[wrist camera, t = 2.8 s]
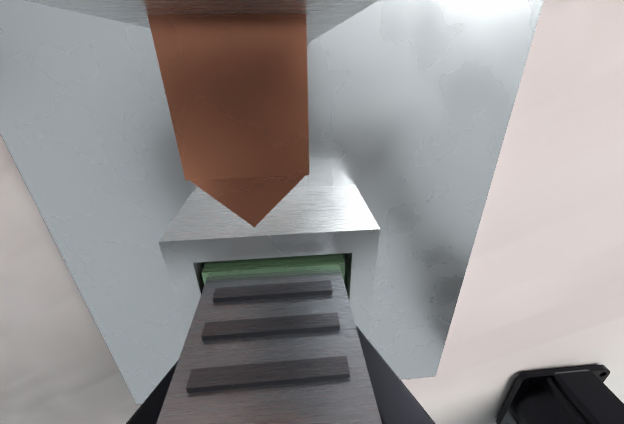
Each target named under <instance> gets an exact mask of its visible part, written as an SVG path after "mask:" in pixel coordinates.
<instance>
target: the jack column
mask: <svg viewBox="0 0 624 424" xmlns="http://www.w3.org/2000/svg"><path fill="white" fill-rule="evenodd" d="M344 276H345V262H344V258H343V255H342V253H340V254H324V255H308V256H292V257H276V258H260V259H245V260H229V261H213V262H205V265H204V268H203V270H202V277H203V281H204V288H203V291H202V294H201V297H200V300H199V303H198V305H197V308H196V311H195V314H194V317H193V320H192V323H191V326H190V328H189V331H188V334H187V337H186V340H185V343H184V346H183V349H182V351H181V354H180V357H179V360H178V363H177V366H176V369H175V372H174V374H173V377H172V380H171V383H170V386H169V389H168V392H167V395H166V397H165V400H164V403H163V406H162V409H161V412H160V415H159V417H158V420H157V423H156V424H382V422H381V418H380V414H379V411H378V407H377V403H376V400H375V396H374V392H373V388H372V385H371V381H370V377H369V374H368V370H367V366H366V362H365V359H364V355H363V351H362V347H361V344H360V340H359V336H358V333H357V329H356V325H355V321H354V318H353V314H352V310H351V307H350V303H349V299H348V295H347V292H346V288H345V284H344Z"/></svg>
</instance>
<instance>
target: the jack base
mask: <svg viewBox="0 0 624 424" xmlns="http://www.w3.org/2000/svg"><path fill="white" fill-rule="evenodd" d="M543 1H544V0H0V134H1V136H2V138H3V140H4V142H5V144H6V146H7V148H8V150H9V152H10V154H11V156H12V158H13V160H14V162H15V164H16V166H17V168H18V170H19V172H20V174H21V176H22V178H23V180H24V182H25V184H26V186H27V188H28V190H29V192H30V194H31V196H32V198H33V199H34V201H35V203H36V205H37V207H38V209H39V211H40V213H41V215H42V217H43V219H44V221H45V223H46V225H47V227H48V229H49V231H50V233H51V235H52V237H53V239H54V241H55V243H56V245H57V247H58V249H59V251H60V253H61V255H62V257H63V259H64V261H65V263H66V265H67V267H68V269H69V271H70V273H71V275H72V277H73V279H74V281H75V283H76V285H77V287H78V289H79V291H80V293H81V295H82V297H83V299H84V301H85V303H86V305H87V307H88V309H89V311H90V313H91V315H92V317H93V319H94V321H95V323H96V325H97V327H98V329H99V331H100V333H101V335H102V337H103V339H104V341H105V343H106V345H107V347H108V349H109V351H110V353H111V355H112V357H113V359H114V361H115V363H116V365H117V367H118V369H119V371H120V373H121V375H122V377H123V379H124V381H125V383H126V385H127V386H128V388H129V390H130V392H131V394H132V396H133V398H134V400H135V402H136V404H142V403H143V402H144V401H145V400H146V399H147V397H148V396H149V395H150V394H151V392H152V391H153V390H154V389H155V388H156V386H157V385H158V384H159V383H160V381H161V380H162V379H163V378H164V377H165V375H166V374H167V373H168V372H169V370H170V369H171V368H172V367H173V366H174V364H175V363H176V362H177V361H178V359H179V357H180V354H181V351H182V349H183V346H184V343H185V340H186V337H187V334H188V331H189V328H190V326H191V323H192V320H193V317H194V314H195V311H196V308H197V305H198V303H199V300H200V297H201V294H202V291H203V288H204V281H203V277H202V270H203V268H204V265H205V262H213V261H229V260H245V259H260V258H276V257H292V256H308V255H324V254H340V253H342V255H343V258H344V262H345V276H344V284H345V288H346V292H347V295H348V299H349V303H350V307H351V310H352V314H353V318H354V321H355V325H356V326H357V327H358V328H359V329H360V330H361V332H362V333H363V334H364V335H365V337H366V338H367V339H368V340H369V342H370V343H371V344H372V345H373V346H374V348H375V349H376V350H377V351H378V353H379V354H380V355H381V356H382V358H383V359H384V360H385V361H386V363H387V364H388V365H389V366H390V368H391V369H392V370H393V371H394V373H395V374H396V375H397V376H398V378H399V379H400V380H402V379H413V378H424V377H434V376H436V372H437V369H438V365H439V362H440V359H441V355H442V352H443V348H444V345H445V341H446V338H447V334H448V331H449V327H450V324H451V320H452V317H453V313H454V310H455V306H456V303H457V299H458V296H459V293H460V289H461V286H462V282H463V279H464V275H465V272H466V268H467V265H468V261H469V258H470V254H471V251H472V247H473V244H474V240H475V237H476V233H477V230H478V227H479V223H480V220H481V216H482V213H483V209H484V206H485V202H486V199H487V195H488V192H489V188H490V185H491V181H492V178H493V174H494V171H495V168H496V164H497V161H498V157H499V154H500V150H501V147H502V143H503V140H504V136H505V133H506V129H507V126H508V122H509V119H510V115H511V112H512V108H513V105H514V102H515V98H516V95H517V91H518V88H519V84H520V81H521V77H522V74H523V70H524V67H525V63H526V60H527V56H528V53H529V49H530V46H531V42H532V39H533V36H534V32H535V29H536V25H537V22H538V18H539V15H540V11H541V8H542V4H543Z"/></svg>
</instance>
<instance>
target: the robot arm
mask: <svg viewBox="0 0 624 424" xmlns="http://www.w3.org/2000/svg"><path fill="white" fill-rule="evenodd" d="M356 329H357V333H358V336H359V340H360V344H361V347H362V351H363V355H364V359H365V362H366V366H367V370H368V374H369V377H370V381H371V385H372V388H373V392H374V396H375V400H376V403H377V407H378V411H379V414H380V418H381V422H382V424H435V422H434V421H433V420H432V419H431V417H430V416H429V415H428V414H427V412H426V411H425V410H424V409H423V407H422V406H421V405H420V404H419V402H418V401H417V400H416V399H415V397H414V396H413V395H412V394H411V393H410V391H409V390H408V389H407V388H406V386H405V385H404V384H403V383H402V381H401V380H400V379H399V378H398V376H397V375H396V374H395V373H394V371H393V370H392V369H391V368H390V366H389V365H388V364H387V363H386V361H385V360H384V359H383V358H382V356H381V355H380V354H379V353H378V351H377V350H376V349H375V348H374V346H373V345H372V344H371V343H370V342H369V340H368V339H367V338H366V337H365V335H364V334H363V333H362V332H361V330H360V329H359V328H358V327H357V326H356ZM178 360H179V359H178ZM177 363H178V361H177V362H176V363H175V364H174V366H173V367H172V368H171V369H170V370H169V372H168V373H167V374H166V375H165V377H164V378H163V379H162V380H161V381H160V383H159V384H158V385H157V386H156V388H155V389H154V390H153V391H152V392H151V394H150V395H149V396H148V397H147V399H146V400H145V401H144V402H143V403H142V405H141V406H140V407H139V408H138V410H137V411H136V412H135V413H134V414H133V416H132V417H131V418H130V419H129V421H128V422H127V423H126V424H156V423H157V420H158V417H159V415H160V412H161V409H162V406H163V403H164V400H165V397H166V395H167V392H168V389H169V386H170V383H171V380H172V377H173V374H174V372H175V369H176V366H177ZM609 374H610V371H609V370H608V369H607V368H606V367H605V366H604V365H592V366H581V367H571V368H560V369H550V370H539V371H529V372H523V373H521V374H520V375H519V376H518V377H517V379H516V381H515V383H514V385H513V387H512V389H511V391H510V393H509V395H508V397H507V399H506V401H505V403H504V405H503V407H502V409H501V411H500V413H499V415H498V418H497V420H496V423H497V424H624V404H623V403H622V402H621V401H620V400H619V399H618V398H617V397H616V396H615V395H614V394H613V393H612V392H611V390H610V389H609V388H608V387H607V386H606V385H605V384H604V383H603V382H604V381H605V379H606V378H607V377H608V375H609Z"/></svg>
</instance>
